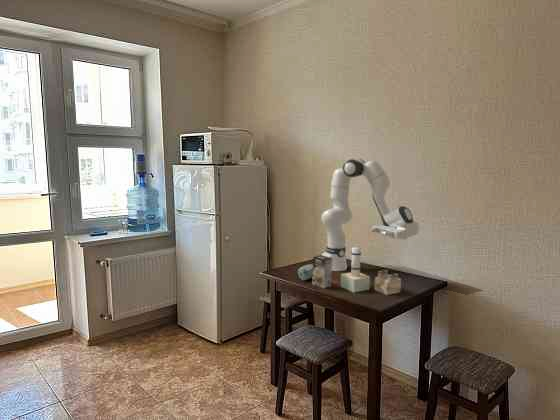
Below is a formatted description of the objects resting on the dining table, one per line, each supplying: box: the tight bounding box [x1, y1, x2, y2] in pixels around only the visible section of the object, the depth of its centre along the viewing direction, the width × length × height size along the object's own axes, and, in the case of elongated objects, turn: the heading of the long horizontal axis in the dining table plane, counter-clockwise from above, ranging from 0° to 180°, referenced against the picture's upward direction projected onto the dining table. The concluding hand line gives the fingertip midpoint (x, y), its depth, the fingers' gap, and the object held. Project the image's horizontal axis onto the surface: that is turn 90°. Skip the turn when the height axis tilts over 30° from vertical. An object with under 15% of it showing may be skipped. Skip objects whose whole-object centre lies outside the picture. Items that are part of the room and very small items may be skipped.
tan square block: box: [373, 269, 402, 296], centre depth 206 cm, size 9×10×10 cm
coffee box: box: [311, 254, 333, 289], centre depth 214 cm, size 9×6×16 cm
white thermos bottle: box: [350, 246, 362, 277], centre depth 209 cm, size 5×5×15 cm
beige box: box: [340, 272, 371, 293], centre depth 211 cm, size 11×11×7 cm
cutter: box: [331, 279, 342, 288], centre depth 214 cm, size 14×6×1 cm, turn 50°
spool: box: [297, 263, 313, 282], centre depth 226 cm, size 14×10×10 cm
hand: (377, 232), depth 213 cm, fingers open, 8 cm apart
